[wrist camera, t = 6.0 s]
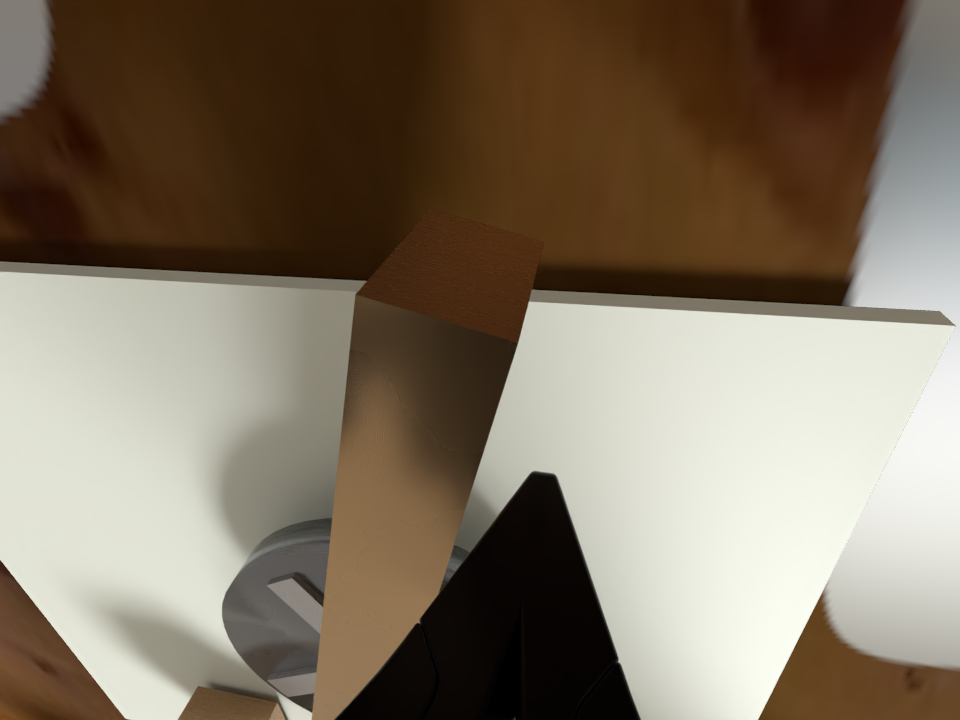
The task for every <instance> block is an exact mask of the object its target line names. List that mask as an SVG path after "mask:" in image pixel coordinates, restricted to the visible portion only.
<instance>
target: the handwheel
mask: <svg viewBox="0 0 960 720" xmlns="http://www.w3.org/2000/svg"><path fill="white" fill-rule="evenodd" d="M543 245H544V242H543V241H540V240H536V239H533V238H529V237H526V236H522V235H519V234H515V233H512V232H509V231H505V230H502V229H498V228H495V227H491V226H488V225H484V224H481V223H478V222H474V221H471V220H467V219H464V218H460V217H457V216H454V215H450V214H447V213H443V212H440V211H436V210H433V209H429V211H428V212H427V213H426V214H425V215H424V216H423V217H422V219H421V220H420V221H419V222H418V223H417V224H416V225H415V227H414V228H413V229H412V230H411V231H410V232H409V234H408V235H407V236H406V237H405V238H404V239H403V240H402V242H401V243H400V244H399V245H398V246H397V247H396V248H395V250H394V251H393V252H392V253H391V254H390V255H389V256H388V258H387V259H386V260H385V261H384V262H383V263H382V264H381V266H380V267H379V268H378V269H377V270H376V271H375V273H374V274H373V275H372V276H371V277H370V278H369V279H368V281H367V282H366V283H365V284H364V285H363V286H362V287H361V289H360V290H359V291H358V292H357V293H356V294H355V302H354V312H353V322H352V331H351V341H350V351H349V361H348V370H347V380H346V390H345V399H344V409H343V419H342V429H341V438H340V448H339V458H338V468H337V477H336V487H335V497H334V507H333V516H332V518H325V519H317V520H309V521H304V522H300V523H296V524H293V525H289V526H287V527H284V528H282V529H280V530H277V531H275V532H273V533H272V534H270V535H269V536H267V537H266V538H264V539H263V540H262V541H261V542H260V543H259V544H258V545H257V546H256V547H255V548H254V549H253V551H252V552H251V554H250V555H249V557H248V559H247V560H246V562H245V563H244V565H243V566H242V568H241V569H240V571H239V572H238V574H237V576H236V577H235V579H234V580H233V582H232V583H231V585H230V586H229V588H228V590H227V591H226V593H225V596H224V600H223V603H222V619H223V624H224V628H225V630H226V633H227V635H228V638H229V640H230V642H231V643H232V645H233V647H234V648H235V650H236V651H237V653H238V654H239V655H240V657H241V658H242V659H243V660H244V662H245V663H246V664H247V665H248V666H249V667H250V668H251V669H252V670H253V671H254V672H255V673H256V674H257V675H258V676H259V677H260V678H261V679H262V680H264V681H265V682H266V683H267V684H268V685H269V686H271V687H272V688H273V689H275V690H276V691H277V692H279V693H280V694H281V695H283V696H284V697H286V698H288V699H289V700H291V701H292V702H294V703H295V704H297V705H299V706H300V707H302V708H304V709H306V710H308V711H309V712H311V713H312V720H334V719H335V718H336V717H337V716H338V715H339V714H340V713H341V712H342V710H343V709H344V708H345V707H346V706H347V705H348V704H349V703H350V702H351V701H352V700H353V699H354V698H355V696H356V695H357V694H358V693H359V692H360V691H361V690H362V689H363V688H364V687H365V685H366V684H367V683H368V682H369V681H370V680H371V679H372V678H373V677H374V675H375V674H376V673H377V672H378V671H379V670H380V668H381V667H382V666H383V665H384V663H385V662H386V661H387V660H388V659H389V657H390V656H391V655H392V654H393V652H394V651H395V650H396V649H397V647H398V646H399V645H400V644H401V642H402V641H403V640H404V638H405V637H406V636H407V634H408V633H409V632H410V630H411V629H412V628H413V627H414V625H415V624H416V623H419V624H420V622H419V619H420V618H421V616H422V615H423V614H424V612H425V611H426V610H427V608H428V607H429V606H430V604H431V603H432V602H433V600H434V599H435V598H436V597H437V595H438V594H439V593H440V591H441V590H442V589H443V587H444V586H445V585H446V583H447V582H448V581H449V579H450V578H451V577H452V575H453V574H454V573H455V571H456V570H457V569H458V567H459V566H460V565H461V564H462V562H463V561H464V560H465V558H466V557H467V556H468V554H469V553H470V552H468V551H466V550H464V549H462V548H460V547H458V546H456V545H454V544H455V540H456V537H457V534H458V531H459V528H460V525H461V522H462V518H463V515H464V512H465V509H466V506H467V503H468V500H469V496H470V493H471V490H472V487H473V484H474V481H475V478H476V474H477V471H478V468H479V465H480V462H481V459H482V455H483V452H484V449H485V446H486V443H487V440H488V437H489V433H490V430H491V427H492V424H493V421H494V418H495V415H496V411H497V408H498V405H499V402H500V399H501V396H502V393H503V389H504V386H505V383H506V380H507V377H508V374H509V371H510V367H511V364H512V361H513V358H514V355H515V352H516V348H517V345H518V342H519V338H520V334H521V330H522V326H523V323H524V319H525V315H526V311H527V307H528V303H529V299H530V295H531V291H532V288H533V284H534V280H535V276H536V272H537V268H538V264H539V260H540V256H541V253H542V249H543ZM514 720H515V719H514Z"/></svg>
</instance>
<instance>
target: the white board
mask: <svg viewBox="0 0 960 720" xmlns="http://www.w3.org/2000/svg"><path fill="white" fill-rule="evenodd" d="M366 282H367V281H358V280H340V279H321V278H302V277H283V276H264V275H245V274H226V273H207V272H189V271H170V270H151V269H132V268H113V267H94V266H75V265H56V264H37V263H19V262H0V560H1V561H2V562H3V564H4V565H5V566H6V567H7V569H8V570H9V571H10V573H11V574H12V575H13V576H14V578H15V579H16V580H17V581H18V583H19V584H20V585H21V587H22V588H23V589H24V590H25V592H26V593H27V594H28V595H29V597H30V598H31V599H32V601H33V602H34V603H35V604H36V606H37V607H38V608H39V609H40V611H41V612H42V613H43V614H44V616H45V617H46V618H47V620H48V621H49V622H50V623H51V625H52V626H53V627H54V628H55V630H56V631H57V632H58V634H59V635H60V636H61V637H62V639H63V640H64V641H65V642H66V644H67V645H68V646H69V648H70V649H71V650H72V651H73V653H74V654H75V655H76V656H77V658H78V659H79V660H80V662H81V663H82V664H83V665H84V667H85V668H86V669H87V670H88V672H89V673H90V674H91V675H92V677H93V678H94V679H95V681H96V682H97V683H98V684H99V686H100V687H101V688H102V689H103V691H104V692H105V693H106V695H107V696H108V697H109V698H110V700H111V701H112V702H113V703H114V705H115V706H116V707H117V709H118V710H119V711H120V712H121V714H122V715H123V716H124V717H125V718H126V719H130V720H178V718H179V717H180V715H181V713H182V712H183V710H184V708H185V707H186V705H187V703H188V702H189V700H190V698H191V697H192V695H193V693H194V692H195V690H196V688H197V687H198V686H201V687H206V688H211V689H216V690H220V691H225V692H230V693H235V694H240V695H245V696H250V697H255V698H260V699H265V700H270V701H275V702H278V705H279V707H280V709H281V711H282V713H283V715H284V718H285V720H312V713H311V712H309V711H308V710H306V709H304V708H302V707H300V706H299V705H297V704H295V703H294V702H292V701H291V700H289V699H288V698H286V697H284V696H283V695H281V694H280V693H279V692H277V691H276V690H275V689H273V688H272V687H271V686H269V685H268V684H267V683H266V682H265V681H264V680H262V679H261V678H260V677H259V676H258V675H257V674H256V673H255V672H254V671H253V670H252V669H251V668H250V667H249V666H248V665H247V664H246V663H245V662H244V660H243V659H242V658H241V657H240V655H239V654H238V653H237V651H236V650H235V648H234V647H233V645H232V643H231V642H230V640H229V638H228V635H227V633H226V630H225V628H224V624H223V619H222V603H223V600H224V596H225V593H226V591H227V590H228V588H229V586H230V585H231V583H232V582H233V580H234V579H235V577H236V576H237V574H238V572H239V571H240V569H241V568H242V566H243V565H244V563H245V562H246V560H247V559H248V557H249V555H250V554H251V552H252V551H253V549H254V548H255V547H256V546H257V545H258V544H259V543H260V542H261V541H262V540H263V539H264V538H266V537H267V536H269V535H270V534H272V533H273V532H275V531H277V530H280V529H282V528H284V527H287V526H289V525H293V524H296V523H300V522H304V521H309V520H317V519H325V518H332V516H333V507H334V497H335V487H336V477H337V468H338V458H339V448H340V438H341V429H342V419H343V409H344V399H345V390H346V380H347V370H348V361H349V351H350V341H351V331H352V322H353V312H354V302H355V294H356V293H357V292H358V291H359V290H360V289H361V287H362V286H363V285H364V284H365V283H366ZM955 327H956V326H955V325H954V324H953V323H952V322H951V321H950V320H949V319H948V318H946V317H945V316H944V315H943V314H942V313H941V312H940V311H925V310H905V309H887V308H867V307H849V306H831V305H812V304H793V303H774V302H755V301H736V300H717V299H698V298H679V297H661V296H642V295H623V294H604V293H585V292H566V291H547V290H532V291H531V295H530V299H529V303H528V307H527V311H526V315H525V319H524V323H523V326H522V330H521V334H520V338H519V342H518V345H517V348H516V352H515V355H514V358H513V361H512V364H511V367H510V371H509V374H508V377H507V380H506V383H505V386H504V389H503V393H502V396H501V399H500V402H499V405H498V408H497V411H496V415H495V418H494V421H493V424H492V427H491V430H490V433H489V437H488V440H487V443H486V446H485V449H484V452H483V455H482V459H481V462H480V465H479V468H478V471H477V474H476V478H475V481H474V484H473V487H472V490H471V493H470V496H469V500H468V503H467V506H466V509H465V512H464V515H463V518H462V522H461V525H460V528H459V531H458V534H457V537H456V540H455V544H454V545H456V546H458V547H460V548H462V549H464V550H466V551H468V552H471V550H472V549H473V548H474V546H475V545H476V544H477V542H478V541H479V540H480V538H481V537H482V536H483V534H484V533H485V532H486V530H487V529H488V528H489V527H490V525H491V524H492V523H493V521H494V520H495V519H496V517H497V516H498V515H499V513H500V512H501V511H502V509H503V508H504V507H505V505H506V504H507V503H508V501H509V500H510V499H511V497H512V496H513V495H514V494H515V492H516V491H517V490H518V488H519V487H520V486H521V484H522V483H523V482H524V480H525V479H526V478H527V476H528V475H529V474H530V473H531V472H532V471H541V472H548V473H554V474H555V475H556V476H557V478H558V480H559V483H560V486H561V489H562V492H563V495H564V498H565V501H566V504H567V507H568V510H569V513H570V516H571V519H572V521H573V524H574V527H575V530H576V533H577V536H578V539H579V542H580V545H581V548H582V551H583V554H584V557H585V560H586V563H587V566H588V569H589V572H590V575H591V578H592V580H593V583H594V586H595V589H596V592H597V595H598V598H599V601H600V604H601V607H602V610H603V613H604V616H605V619H606V622H607V625H608V628H609V631H610V634H611V636H612V639H613V642H614V645H615V648H616V651H617V654H618V657H619V661H618V662H619V663H620V664H621V665H622V668H623V671H624V674H625V677H626V680H627V683H628V686H629V689H630V691H631V694H632V697H633V700H634V702H635V705H636V708H637V710H638V713H639V716H640V718H641V720H758V719H759V717H760V715H761V713H762V711H763V709H764V707H765V705H766V703H767V701H768V699H769V697H770V695H771V693H772V691H773V689H774V687H775V685H776V683H777V681H778V679H779V677H780V675H781V673H782V671H783V669H784V667H785V665H786V663H787V661H788V659H789V657H790V655H791V653H792V651H793V649H794V647H795V645H796V643H797V641H798V639H799V637H800V635H801V633H802V631H803V629H804V627H805V625H806V623H807V621H808V619H809V617H810V615H811V613H812V611H813V609H814V607H815V605H816V603H817V601H818V599H819V597H820V595H821V593H822V591H823V589H824V587H825V585H826V583H827V581H828V579H829V577H830V575H831V573H832V571H833V569H834V567H835V565H836V563H837V561H838V559H839V557H840V555H841V553H842V551H843V549H844V547H845V546H846V544H847V542H848V539H849V537H850V535H851V533H852V532H853V530H854V528H855V526H856V524H857V522H858V520H859V518H860V516H861V514H862V512H863V510H864V508H865V506H866V504H867V502H868V500H869V498H870V496H871V494H872V492H873V490H874V488H875V486H876V484H877V482H878V480H879V478H880V476H881V474H882V472H883V470H884V468H885V466H886V464H887V462H888V460H889V458H890V456H891V454H892V452H893V450H894V448H895V446H896V444H897V442H898V440H899V438H900V436H901V434H902V432H903V430H904V428H905V426H906V424H907V422H908V420H909V418H910V416H911V414H912V412H913V410H914V408H915V406H916V404H917V402H918V400H919V398H920V396H921V394H922V392H923V390H924V388H925V386H926V384H927V382H928V380H929V378H930V376H931V374H932V372H933V371H934V369H935V366H936V365H937V363H938V360H939V358H940V357H941V355H942V352H943V350H944V349H945V347H946V345H947V343H948V341H949V339H950V337H951V334H952V333H953V331H954V329H955Z"/></svg>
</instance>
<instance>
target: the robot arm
mask: <svg viewBox="0 0 960 720" xmlns="http://www.w3.org/2000/svg"><path fill="white" fill-rule="evenodd" d="M419 622H420V624H419V623H416V624H415V625H414V627H413V628H412V629H411V630H410V632H409V633H408V634H407V636H406V637H405V638H404V640H403V641H402V642H401V644H400V645H399V646H398V647H397V649H396V650H395V651H394V652H393V654H392V655H391V656H390V657H389V659H388V660H387V661H386V662H385V663H384V665H383V666H382V667H381V668H380V670H379V671H378V672H377V673H376V674H375V675H374V677H373V678H372V679H371V680H370V681H369V682H368V683H367V684H366V685H365V687H364V688H363V689H362V690H361V691H360V692H359V693H358V694H357V695H356V696H355V698H354V699H353V700H352V701H351V702H350V703H349V704H348V705H347V706H346V707H345V708H344V709H343V710H342V712H341V713H340V714H339V715H338V716H337V717H336V718H335V719H334V720H514V719H515V720H641V718H640V716H639V713H638V710H637V708H636V705H635V702H634V700H633V697H632V694H631V691H630V689H629V686H628V683H627V680H626V677H625V674H624V671H623V668H622V665H621V664H620V663H619V662H618V661H619V657H618V654H617V651H616V648H615V645H614V642H613V639H612V636H611V634H610V631H609V628H608V625H607V622H606V619H605V616H604V613H603V610H602V607H601V604H600V601H599V598H598V595H597V592H596V589H595V586H594V583H593V580H592V578H591V575H590V572H589V569H588V566H587V563H586V560H585V557H584V554H583V551H582V548H581V545H580V542H579V539H578V536H577V533H576V530H575V527H574V524H573V521H572V519H571V516H570V513H569V510H568V507H567V504H566V501H565V498H564V495H563V492H562V489H561V486H560V483H559V480H558V478H557V476H556V475H555V474H554V473H548V472H541V471H532V472H531V473H530V474H529V475H528V476H527V478H526V479H525V480H524V482H523V483H522V484H521V486H520V487H519V488H518V490H517V491H516V492H515V494H514V495H513V496H512V497H511V499H510V500H509V501H508V503H507V504H506V505H505V507H504V508H503V509H502V511H501V512H500V513H499V515H498V516H497V517H496V519H495V520H494V521H493V523H492V524H491V525H490V527H489V528H488V529H487V530H486V532H485V533H484V534H483V536H482V537H481V538H480V540H479V541H478V542H477V544H476V545H475V546H474V548H473V549H472V550H471V552H470V553H469V554H468V556H467V557H466V558H465V560H464V561H463V562H462V564H461V565H460V566H459V567H458V569H457V570H456V571H455V573H454V574H453V575H452V577H451V578H450V579H449V581H448V582H447V583H446V585H445V586H444V587H443V589H442V590H441V591H440V593H439V594H438V595H437V597H436V598H435V599H434V600H433V602H432V603H431V604H430V606H429V607H428V608H427V610H426V611H425V612H424V614H423V615H422V616H421V618H420V619H419Z"/></svg>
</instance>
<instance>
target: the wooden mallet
mask: <svg viewBox="0 0 960 720" xmlns="http://www.w3.org/2000/svg"><path fill="white" fill-rule="evenodd" d="M178 720H285V718H284V715H283V713H282V711H281V709H280V707H279V705H278V702H275V701H270V700H265V699H260V698H255V697H250V696H245V695H240V694H235V693H230V692H225V691H220V690H216V689H211V688H206V687H201V686H198V687H197V688H196V690H195V692H194V693H193V695H192V697H191V698H190V700H189V702H188V703H187V705H186V707H185V708H184V710H183V712H182V713H181V715H180V717H179V718H178Z"/></svg>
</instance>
